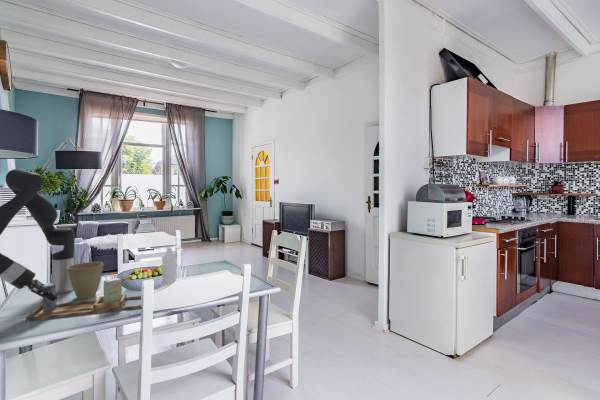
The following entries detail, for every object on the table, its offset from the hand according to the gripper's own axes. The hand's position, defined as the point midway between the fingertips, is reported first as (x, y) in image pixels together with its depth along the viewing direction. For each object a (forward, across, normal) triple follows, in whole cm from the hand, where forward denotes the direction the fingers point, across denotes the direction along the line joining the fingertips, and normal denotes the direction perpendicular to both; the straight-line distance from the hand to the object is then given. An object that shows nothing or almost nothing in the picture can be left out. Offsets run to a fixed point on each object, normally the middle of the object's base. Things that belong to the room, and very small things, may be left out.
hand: (54, 297), depth 136 cm
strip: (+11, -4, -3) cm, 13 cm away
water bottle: (+36, -14, -28) cm, 48 cm away
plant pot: (+14, +15, -5) cm, 21 cm away
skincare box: (+19, -8, -10) cm, 23 cm away
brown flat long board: (+15, -6, -6) cm, 17 cm away
